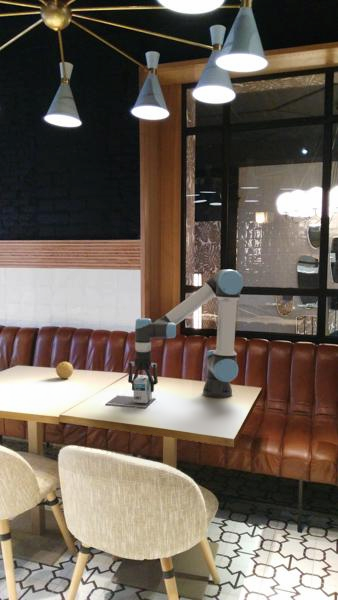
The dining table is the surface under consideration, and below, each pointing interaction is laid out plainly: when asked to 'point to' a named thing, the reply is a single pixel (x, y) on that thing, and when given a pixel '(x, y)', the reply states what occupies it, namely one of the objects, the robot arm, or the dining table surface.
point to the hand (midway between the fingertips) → (142, 397)
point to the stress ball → (64, 370)
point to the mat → (128, 402)
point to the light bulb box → (141, 389)
